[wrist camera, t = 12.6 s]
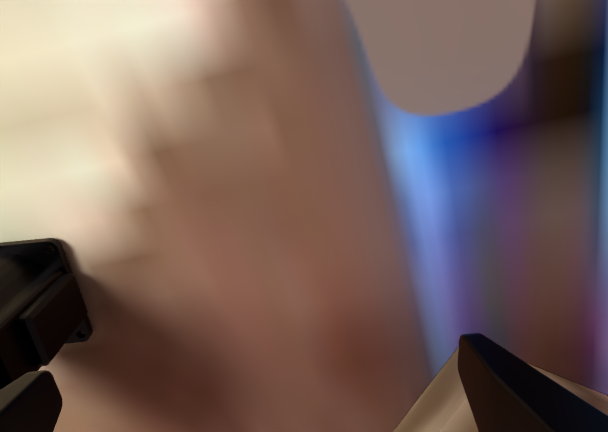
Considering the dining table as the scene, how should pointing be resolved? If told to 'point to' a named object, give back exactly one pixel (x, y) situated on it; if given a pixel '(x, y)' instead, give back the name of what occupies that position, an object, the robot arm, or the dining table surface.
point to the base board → (455, 407)
